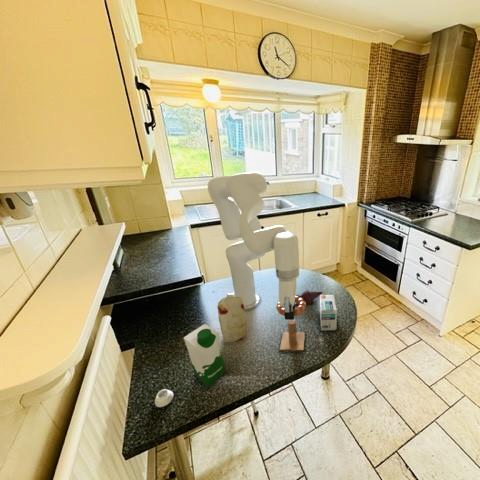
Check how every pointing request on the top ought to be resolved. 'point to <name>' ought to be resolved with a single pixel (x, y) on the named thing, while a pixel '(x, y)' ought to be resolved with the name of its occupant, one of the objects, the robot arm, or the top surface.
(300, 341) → the stand
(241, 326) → the food model
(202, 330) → the milk carton
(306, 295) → the dinosaur toy
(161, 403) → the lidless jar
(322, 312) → the light bulb box
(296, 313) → the ring
